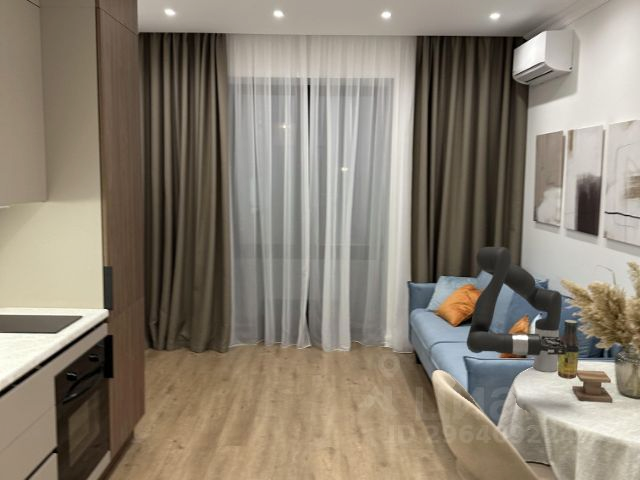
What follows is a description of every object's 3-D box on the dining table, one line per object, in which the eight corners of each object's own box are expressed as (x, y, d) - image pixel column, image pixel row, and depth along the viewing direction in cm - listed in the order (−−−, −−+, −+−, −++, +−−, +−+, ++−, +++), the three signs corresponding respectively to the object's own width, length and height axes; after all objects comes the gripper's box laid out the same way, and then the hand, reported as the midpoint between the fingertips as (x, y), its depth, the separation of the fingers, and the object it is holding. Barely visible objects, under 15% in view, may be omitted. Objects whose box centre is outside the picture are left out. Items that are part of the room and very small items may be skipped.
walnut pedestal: (572, 389, 225) (573, 369, 224) (603, 391, 223) (604, 370, 222) (579, 400, 214) (580, 379, 213) (612, 402, 212) (613, 380, 211)
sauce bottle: (564, 380, 205) (566, 324, 203) (553, 374, 211) (555, 319, 209) (581, 379, 206) (584, 322, 204) (570, 372, 213) (572, 318, 210)
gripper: (528, 339, 203) (581, 341, 200) (522, 328, 217) (571, 329, 214) (528, 361, 204) (580, 363, 201) (522, 348, 218) (571, 350, 215)
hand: (575, 346), depth 207 cm, fingers closed on sauce bottle, 6 cm apart
